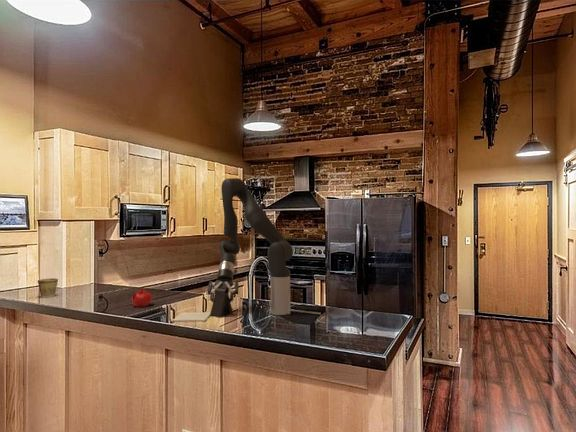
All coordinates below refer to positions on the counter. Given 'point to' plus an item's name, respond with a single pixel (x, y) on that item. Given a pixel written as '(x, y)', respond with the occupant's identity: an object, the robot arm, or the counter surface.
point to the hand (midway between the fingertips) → (221, 301)
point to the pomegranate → (141, 298)
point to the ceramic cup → (47, 287)
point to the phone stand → (221, 303)
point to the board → (192, 316)
